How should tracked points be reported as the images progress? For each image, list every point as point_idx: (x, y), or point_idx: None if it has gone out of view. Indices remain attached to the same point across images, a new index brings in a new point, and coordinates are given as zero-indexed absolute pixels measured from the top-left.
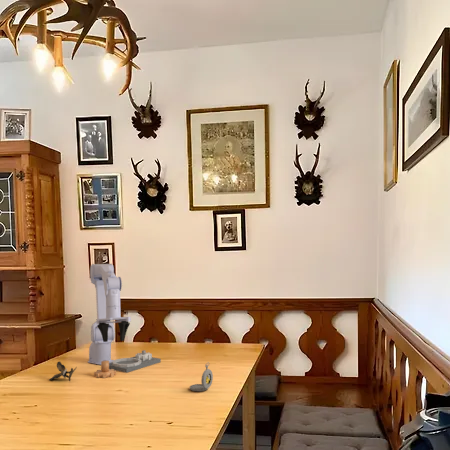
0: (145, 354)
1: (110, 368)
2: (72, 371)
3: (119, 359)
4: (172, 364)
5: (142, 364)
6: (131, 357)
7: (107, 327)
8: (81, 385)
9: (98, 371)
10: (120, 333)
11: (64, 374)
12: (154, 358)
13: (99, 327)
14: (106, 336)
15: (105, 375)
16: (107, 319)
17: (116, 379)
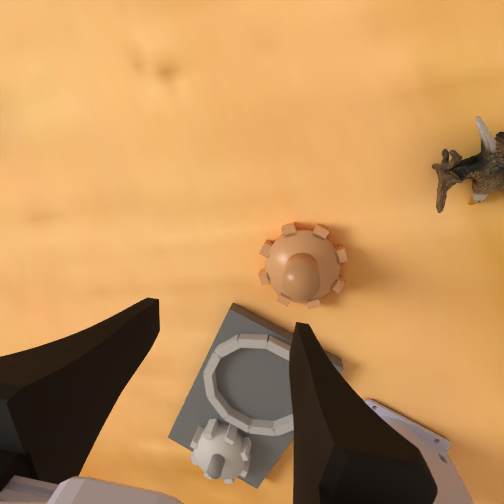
0: (210, 454)
1: None
2: (444, 179)
3: None
4: (129, 399)
5: (199, 371)
6: (273, 462)
7: (296, 490)
8: (347, 101)
9: (330, 265)
10: (116, 325)
11: (480, 154)
12: (188, 441)
13: (376, 429)
14: (294, 377)
15: (284, 227)
16: (144, 501)
17: (235, 211)
